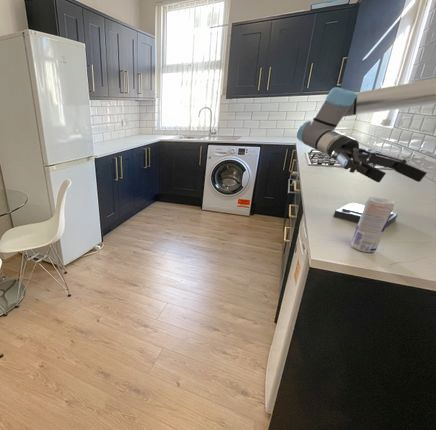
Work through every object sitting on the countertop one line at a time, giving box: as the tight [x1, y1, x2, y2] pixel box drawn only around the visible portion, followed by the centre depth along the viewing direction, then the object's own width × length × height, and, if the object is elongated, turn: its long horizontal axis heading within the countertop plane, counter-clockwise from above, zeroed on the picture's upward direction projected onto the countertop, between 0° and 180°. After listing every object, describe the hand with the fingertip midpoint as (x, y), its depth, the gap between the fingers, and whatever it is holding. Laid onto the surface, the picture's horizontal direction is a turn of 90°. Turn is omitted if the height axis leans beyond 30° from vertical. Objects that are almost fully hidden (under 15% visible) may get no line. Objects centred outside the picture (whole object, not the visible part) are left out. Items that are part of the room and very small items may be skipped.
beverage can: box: [350, 196, 396, 253], centre depth 78 cm, size 6×6×15 cm
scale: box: [333, 202, 399, 229], centre depth 101 cm, size 14×14×3 cm
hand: (402, 177), depth 74 cm, fingers open, 13 cm apart
